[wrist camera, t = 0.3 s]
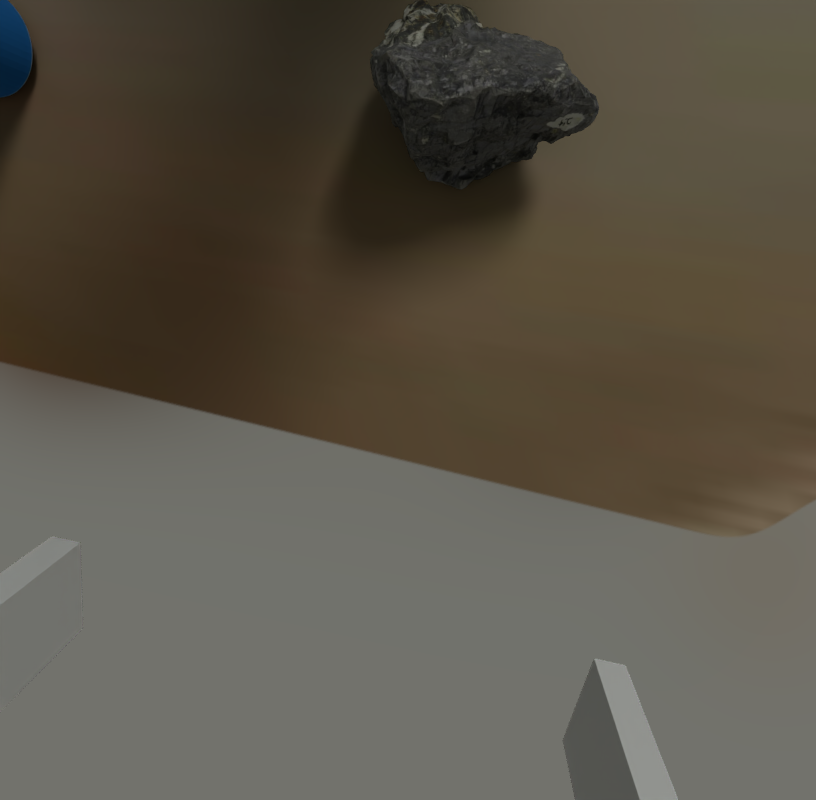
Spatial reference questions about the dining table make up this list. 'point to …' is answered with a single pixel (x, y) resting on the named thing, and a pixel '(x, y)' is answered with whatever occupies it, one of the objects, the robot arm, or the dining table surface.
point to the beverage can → (13, 50)
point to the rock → (473, 92)
